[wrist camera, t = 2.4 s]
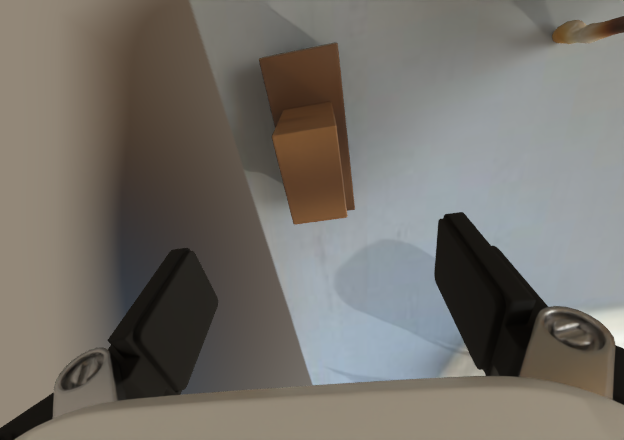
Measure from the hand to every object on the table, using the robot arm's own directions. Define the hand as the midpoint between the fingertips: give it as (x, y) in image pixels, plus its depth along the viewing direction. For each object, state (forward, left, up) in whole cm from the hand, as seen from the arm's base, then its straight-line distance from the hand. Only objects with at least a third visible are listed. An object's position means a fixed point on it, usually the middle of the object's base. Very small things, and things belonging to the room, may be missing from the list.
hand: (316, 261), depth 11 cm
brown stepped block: (0, 0, -17) cm, 17 cm away
